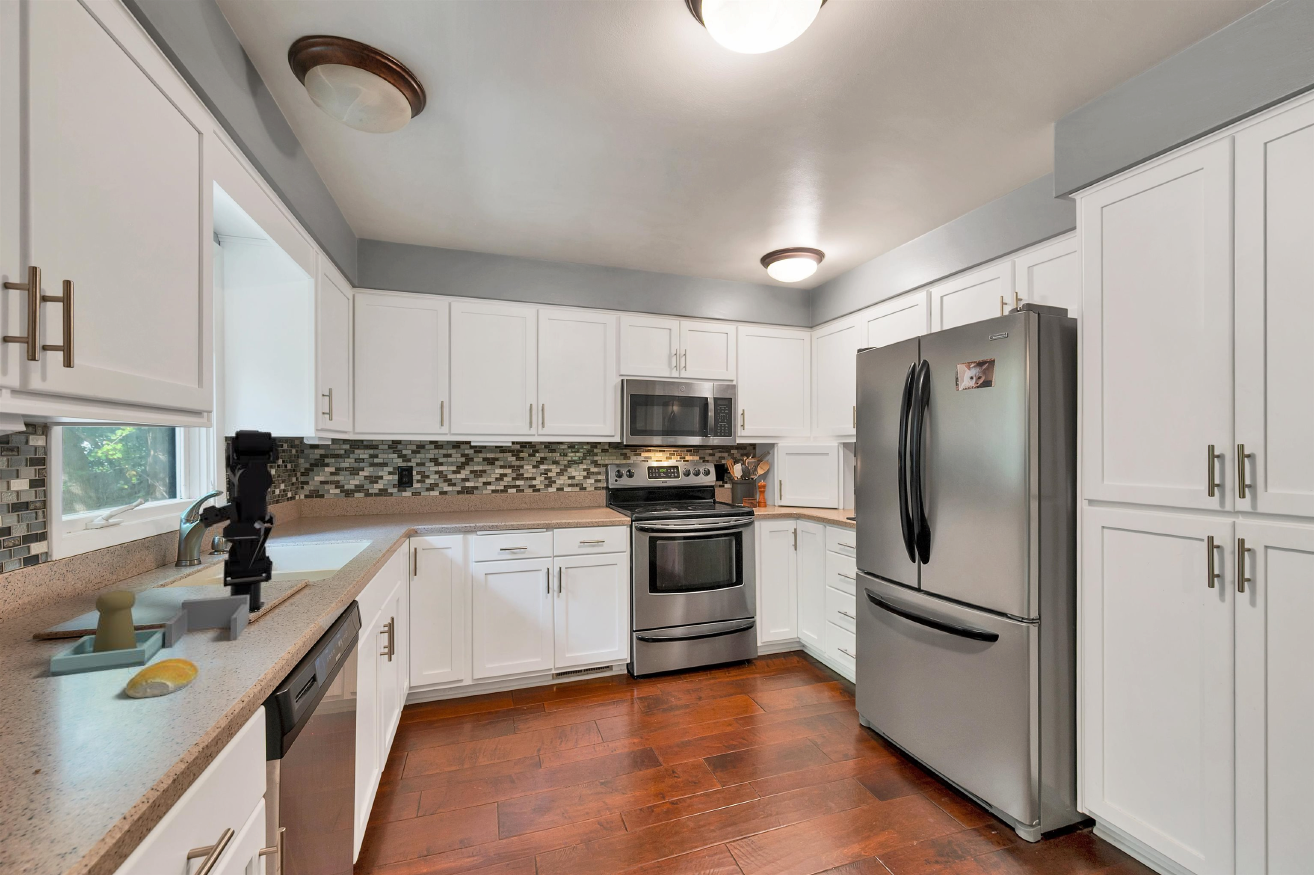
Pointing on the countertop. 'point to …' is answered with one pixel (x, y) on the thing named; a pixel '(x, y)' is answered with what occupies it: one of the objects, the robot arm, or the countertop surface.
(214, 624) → the bay
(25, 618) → the countertop surface
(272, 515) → the robot arm
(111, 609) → the cork
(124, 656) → the tray
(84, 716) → the countertop surface
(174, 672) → the bread roll
